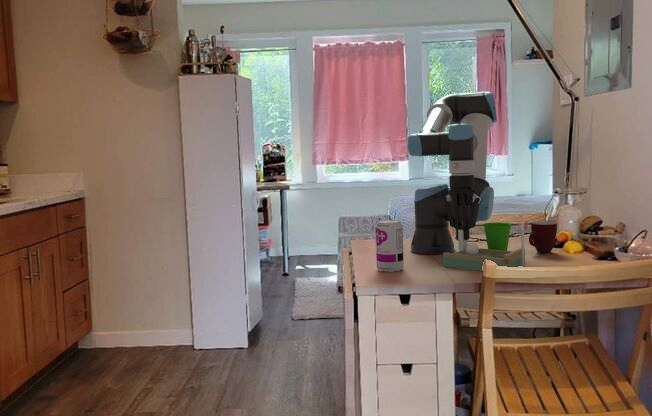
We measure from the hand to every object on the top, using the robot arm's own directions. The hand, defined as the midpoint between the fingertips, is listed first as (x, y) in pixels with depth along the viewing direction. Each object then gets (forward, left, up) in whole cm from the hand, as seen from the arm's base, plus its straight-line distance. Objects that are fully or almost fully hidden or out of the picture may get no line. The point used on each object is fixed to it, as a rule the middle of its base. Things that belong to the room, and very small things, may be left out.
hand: (462, 250), depth 184 cm
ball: (+1, 0, 0) cm, 1 cm away
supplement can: (-15, -17, -5) cm, 24 cm away
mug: (+14, +29, -5) cm, 32 cm away
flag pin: (+19, +3, -5) cm, 19 cm away
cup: (+5, +15, -5) cm, 16 cm away
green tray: (+7, +1, -5) cm, 8 cm away
